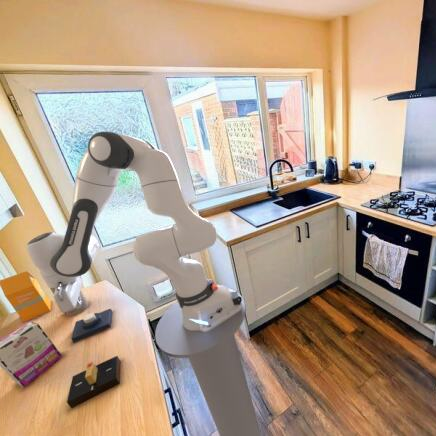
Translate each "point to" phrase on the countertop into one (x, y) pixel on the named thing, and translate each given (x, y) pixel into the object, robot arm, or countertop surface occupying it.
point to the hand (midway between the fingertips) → (79, 306)
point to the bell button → (89, 318)
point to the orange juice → (25, 295)
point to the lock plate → (104, 381)
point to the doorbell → (92, 326)
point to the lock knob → (91, 373)
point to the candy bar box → (27, 353)
